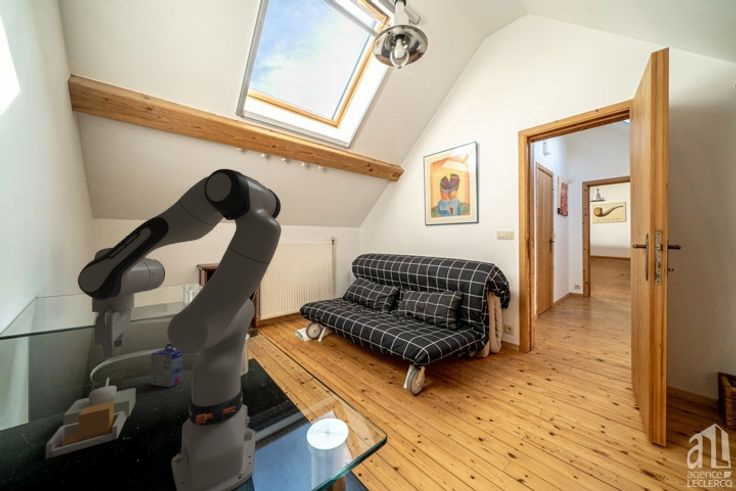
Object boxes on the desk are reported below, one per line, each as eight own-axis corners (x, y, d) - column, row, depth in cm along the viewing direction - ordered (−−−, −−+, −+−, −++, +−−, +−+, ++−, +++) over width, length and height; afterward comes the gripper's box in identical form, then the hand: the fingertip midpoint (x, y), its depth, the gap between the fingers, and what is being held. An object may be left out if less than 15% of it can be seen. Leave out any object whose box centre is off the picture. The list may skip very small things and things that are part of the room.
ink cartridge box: (183, 380, 104) (184, 344, 104) (170, 387, 99) (171, 349, 99) (163, 378, 106) (163, 342, 106) (149, 385, 101) (150, 347, 101)
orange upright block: (109, 437, 72) (109, 408, 73) (61, 450, 68) (61, 419, 68) (113, 429, 76) (113, 401, 76) (68, 441, 71) (68, 411, 71)
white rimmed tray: (119, 438, 72) (119, 408, 72) (42, 459, 65) (43, 426, 65) (135, 402, 89) (135, 378, 89) (76, 416, 82) (76, 390, 82)
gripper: (119, 308, 69) (119, 360, 69) (135, 297, 86) (135, 339, 86) (85, 311, 66) (85, 366, 66) (108, 299, 83) (108, 343, 83)
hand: (113, 351), depth 76 cm, fingers open, 8 cm apart
